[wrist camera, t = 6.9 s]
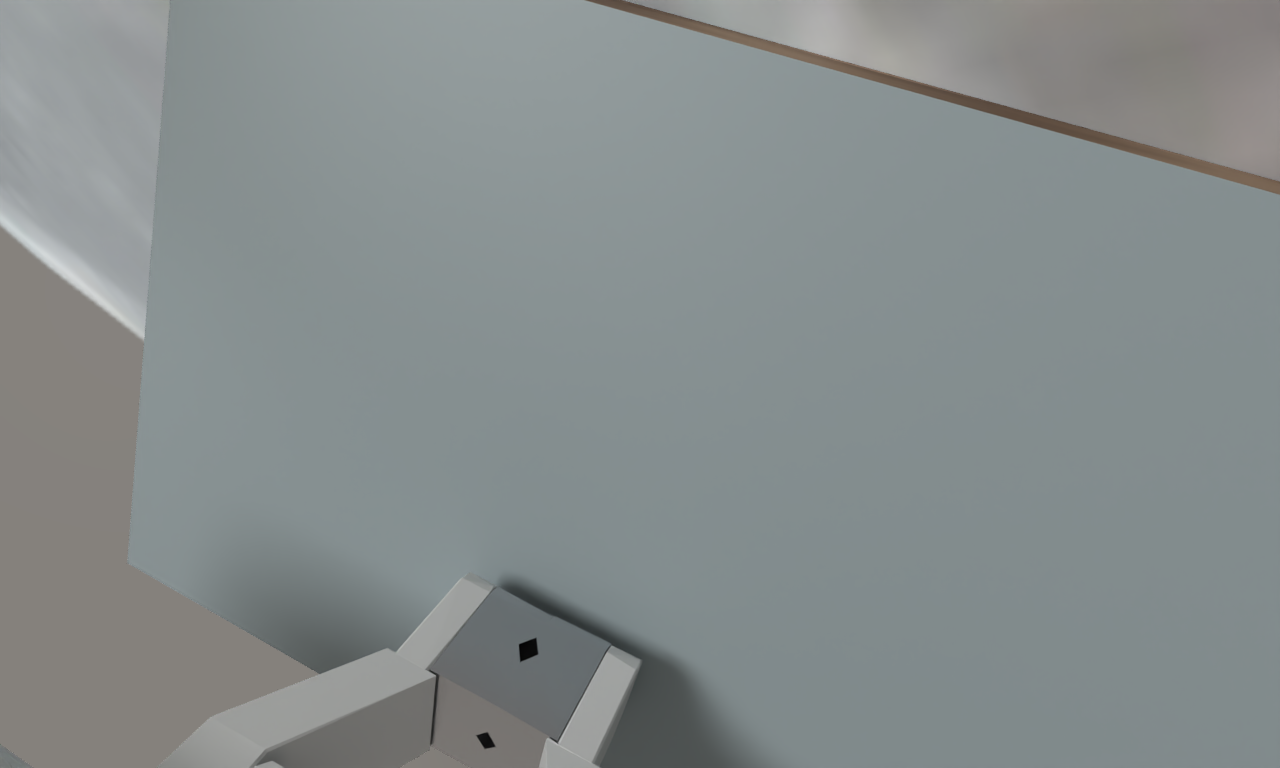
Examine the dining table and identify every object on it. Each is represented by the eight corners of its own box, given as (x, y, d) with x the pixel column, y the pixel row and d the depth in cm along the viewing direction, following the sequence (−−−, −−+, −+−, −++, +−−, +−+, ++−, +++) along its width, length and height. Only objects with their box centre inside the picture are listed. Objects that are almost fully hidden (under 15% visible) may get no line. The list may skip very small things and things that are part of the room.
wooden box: (1584, 265, 11) (2124, 455, 6) (1137, 680, 17) (1220, 937, 12) (463, -44, 15) (244, -82, 10) (438, 375, 22) (295, 473, 17)
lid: (2143, 461, 6) (2387, 504, 5) (1318, 1176, 9) (1370, 1279, 9) (238, -83, 10) (178, -113, 9) (175, 541, 14) (127, 563, 13)
